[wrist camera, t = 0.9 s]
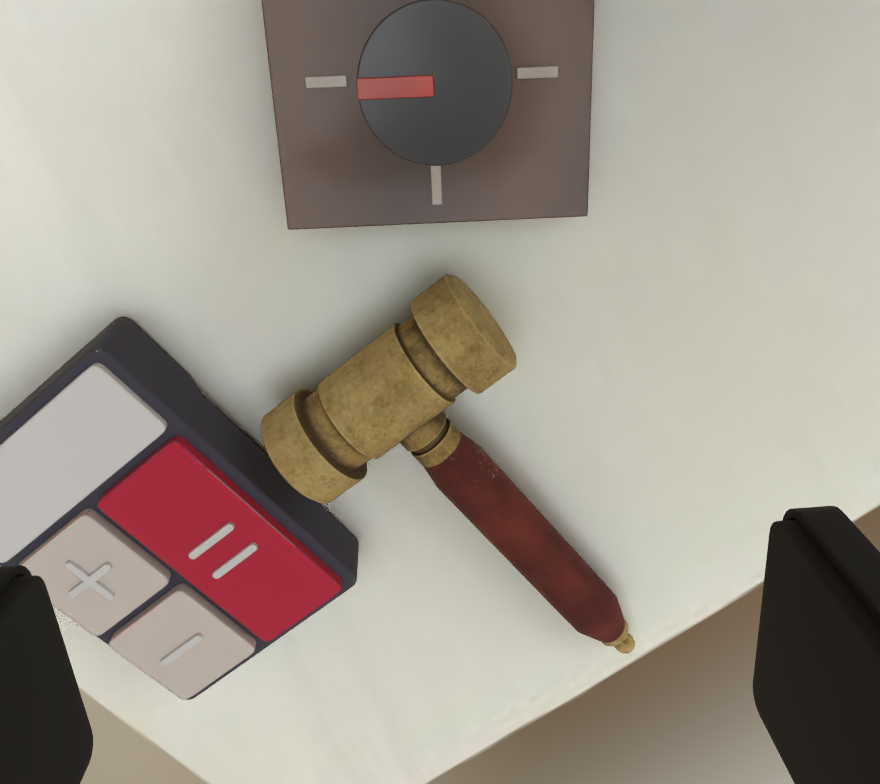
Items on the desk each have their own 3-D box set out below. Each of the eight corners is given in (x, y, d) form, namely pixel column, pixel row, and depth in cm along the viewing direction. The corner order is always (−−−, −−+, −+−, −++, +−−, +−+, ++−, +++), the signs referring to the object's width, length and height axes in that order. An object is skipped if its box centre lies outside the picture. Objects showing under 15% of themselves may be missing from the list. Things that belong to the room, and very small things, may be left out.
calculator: (183, 717, 38) (-97, 515, 32) (202, 650, 42) (-45, 460, 36) (360, 593, 35) (89, 351, 30) (363, 534, 39) (123, 310, 34)
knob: (495, 3, 27) (514, -6, 22) (497, 141, 29) (514, 164, 23) (362, 8, 27) (348, 1, 21) (372, 146, 29) (361, 171, 23)
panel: (580, -86, 29) (598, -100, 26) (573, 201, 33) (588, 217, 30) (267, -73, 28) (250, -86, 26) (298, 213, 32) (287, 230, 30)
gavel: (734, 629, 37) (556, 734, 39) (699, 565, 41) (539, 664, 44) (453, 295, 29) (250, 452, 31) (445, 257, 33) (265, 398, 35)
